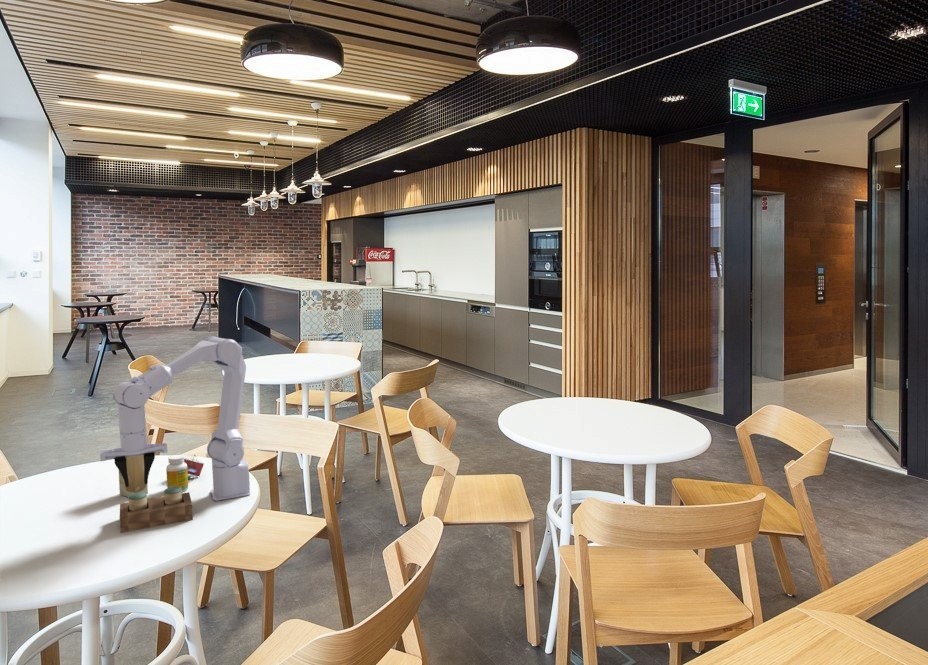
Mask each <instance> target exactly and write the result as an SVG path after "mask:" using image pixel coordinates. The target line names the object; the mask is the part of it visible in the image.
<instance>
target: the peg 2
mask: <svg viewBox="0 0 928 665" xmlns="http://www.w3.org/2000/svg"><path fill="white" fill-rule="evenodd" d="M163 492H164V493H163V494H164V495H163V496H165V506H166V505H172V504H178V503H182V493H183V492H182V488H181V487H170V488H165V489H164V490H163Z"/></svg>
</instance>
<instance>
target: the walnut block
mask: <svg viewBox="0 0 928 665" xmlns="http://www.w3.org/2000/svg"><path fill="white" fill-rule="evenodd" d="M193 519H194V513H193V502H192V498H191V494H190V492H189V491H188V492H182V503H178V504H172V505H166V506H165V496H164V495H163V496H159V497H151V498H147V509H143V510H137V511H131V512H129V501H128V502H127V501H126V502H121V503H119V528H120V530H119V531H120V533H126V532H132V531H137V530H143V529H147V528H154V527H159V526H163V525H164V526H166V525H170V524H175V523H181V522H186V521H191V520H193Z"/></svg>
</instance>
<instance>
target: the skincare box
mask: <svg viewBox="0 0 928 665" xmlns="http://www.w3.org/2000/svg"><path fill="white" fill-rule="evenodd" d="M126 460H127V473H128V479H129V487H126V486H125V482H124V479H123V477H122V474H121V473H120V471H119V470H118V484H119V487H118V488H119V496H123V497H127V498H128V496H129V495H131V494H134V493H139V492H144V493H146V494H148V493H149V491H148V490H149V489H148V486H149V485H148V484H144V455H139V456H131V457H126Z"/></svg>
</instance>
